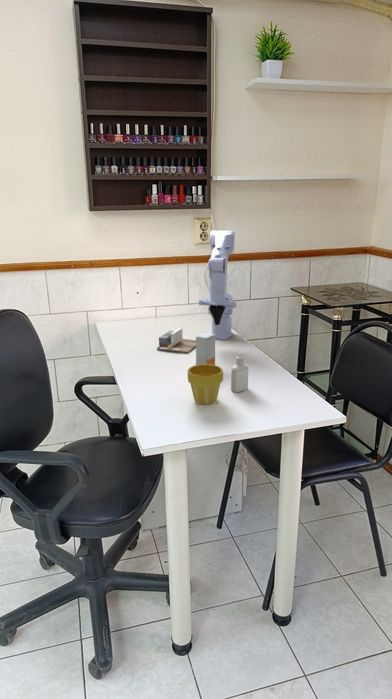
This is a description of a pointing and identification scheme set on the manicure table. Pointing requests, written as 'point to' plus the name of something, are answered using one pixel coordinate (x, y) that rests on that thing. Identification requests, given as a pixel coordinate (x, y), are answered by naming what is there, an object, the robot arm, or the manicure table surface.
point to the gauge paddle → (176, 337)
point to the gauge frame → (180, 347)
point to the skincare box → (205, 349)
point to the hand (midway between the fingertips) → (217, 324)
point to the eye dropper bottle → (239, 375)
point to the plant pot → (205, 382)
